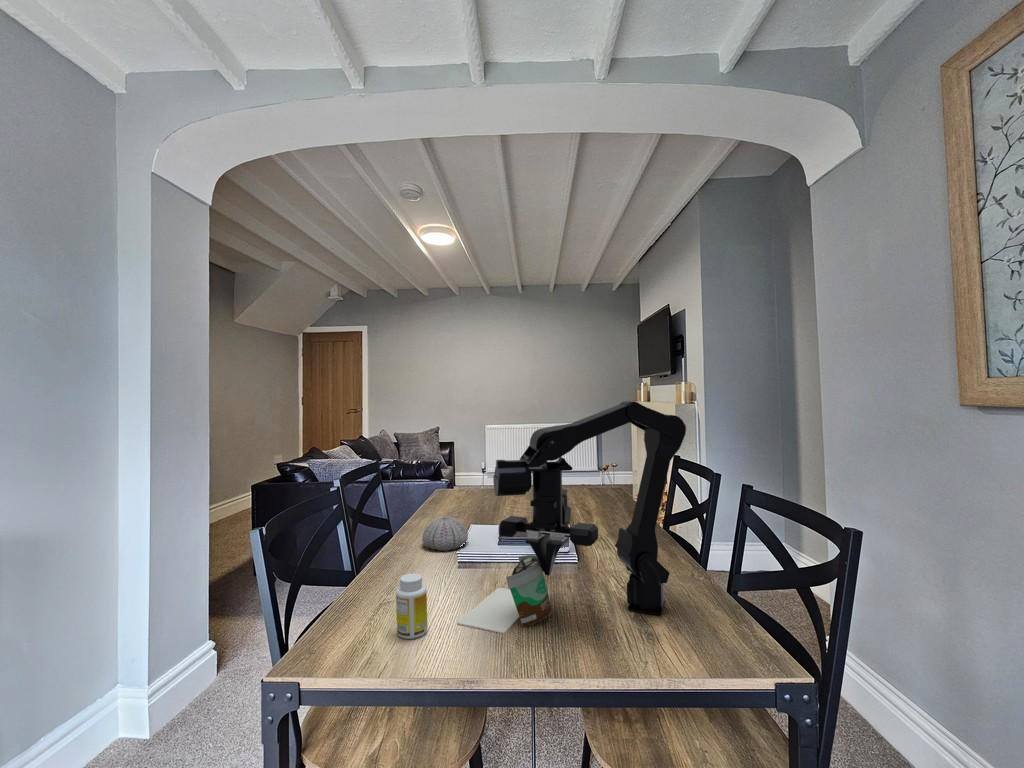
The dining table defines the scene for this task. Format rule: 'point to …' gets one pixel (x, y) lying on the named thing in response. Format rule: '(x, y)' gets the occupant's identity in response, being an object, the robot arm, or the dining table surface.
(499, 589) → the mat
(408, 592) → the supplement bottle
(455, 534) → the sea urchin shell
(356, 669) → the dining table surface
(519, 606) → the food container
